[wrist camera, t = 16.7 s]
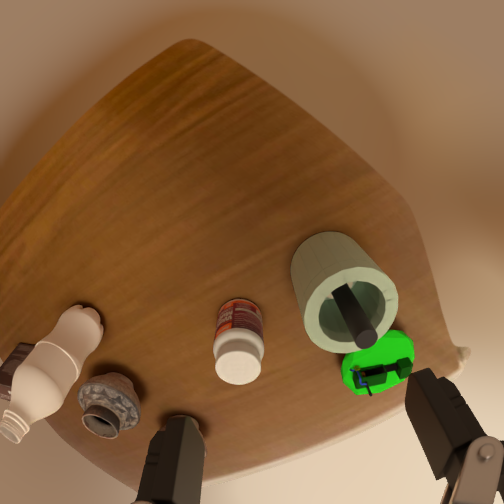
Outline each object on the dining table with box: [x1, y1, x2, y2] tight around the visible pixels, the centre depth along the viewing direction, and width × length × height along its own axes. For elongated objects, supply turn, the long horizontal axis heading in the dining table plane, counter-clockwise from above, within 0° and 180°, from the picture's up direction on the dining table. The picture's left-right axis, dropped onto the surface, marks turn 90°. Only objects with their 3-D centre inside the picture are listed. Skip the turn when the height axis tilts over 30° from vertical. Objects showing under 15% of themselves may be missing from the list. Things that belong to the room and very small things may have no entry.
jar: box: [290, 231, 398, 353], centre depth 37 cm, size 10×10×12 cm
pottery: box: [78, 372, 207, 458], centre depth 46 cm, size 11×25×12 cm, turn 49°
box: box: [0, 343, 35, 401], centre depth 42 cm, size 6×4×12 cm
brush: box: [327, 282, 378, 349], centre depth 34 cm, size 4×4×16 cm
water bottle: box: [0, 305, 103, 443], centre depth 33 cm, size 7×7×25 cm
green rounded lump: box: [341, 329, 415, 396], centre depth 42 cm, size 12×12×11 cm
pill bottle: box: [213, 299, 264, 385], centre depth 40 cm, size 6×6×11 cm
